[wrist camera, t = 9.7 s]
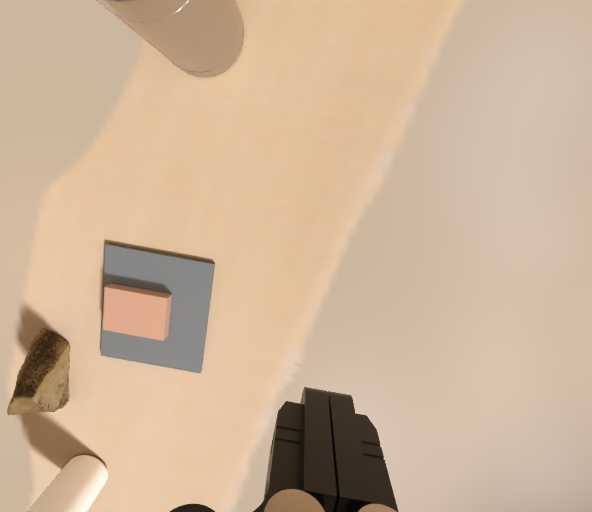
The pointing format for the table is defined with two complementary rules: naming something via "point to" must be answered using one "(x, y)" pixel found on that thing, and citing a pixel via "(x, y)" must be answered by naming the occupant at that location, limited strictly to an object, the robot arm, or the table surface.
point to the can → (73, 486)
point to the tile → (136, 311)
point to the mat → (183, 315)
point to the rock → (42, 376)
